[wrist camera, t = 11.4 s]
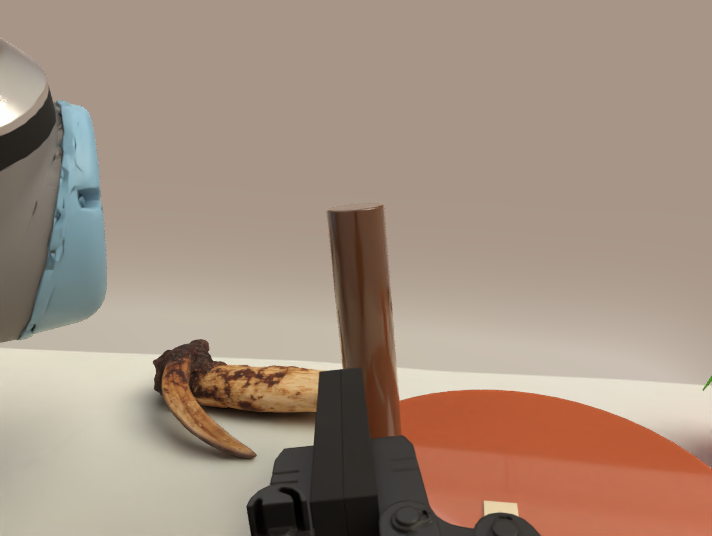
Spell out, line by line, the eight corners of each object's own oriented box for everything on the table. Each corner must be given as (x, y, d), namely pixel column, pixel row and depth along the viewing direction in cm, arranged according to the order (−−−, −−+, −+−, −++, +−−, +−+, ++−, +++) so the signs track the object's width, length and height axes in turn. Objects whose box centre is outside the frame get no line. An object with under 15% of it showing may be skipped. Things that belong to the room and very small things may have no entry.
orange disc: (344, 400, 34) (322, 197, 30) (665, 412, 29) (680, 171, 26) (179, 725, 15) (77, 282, 12) (1031, 922, 10) (1267, 247, 7)
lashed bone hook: (100, 438, 36) (312, 477, 28) (83, 381, 35) (299, 406, 27) (187, 378, 44) (369, 396, 37) (175, 330, 43) (361, 339, 35)
